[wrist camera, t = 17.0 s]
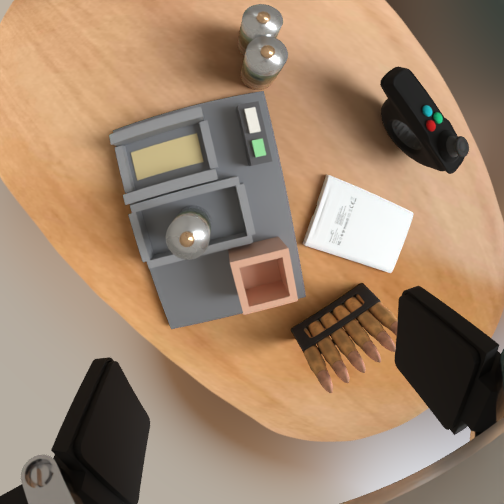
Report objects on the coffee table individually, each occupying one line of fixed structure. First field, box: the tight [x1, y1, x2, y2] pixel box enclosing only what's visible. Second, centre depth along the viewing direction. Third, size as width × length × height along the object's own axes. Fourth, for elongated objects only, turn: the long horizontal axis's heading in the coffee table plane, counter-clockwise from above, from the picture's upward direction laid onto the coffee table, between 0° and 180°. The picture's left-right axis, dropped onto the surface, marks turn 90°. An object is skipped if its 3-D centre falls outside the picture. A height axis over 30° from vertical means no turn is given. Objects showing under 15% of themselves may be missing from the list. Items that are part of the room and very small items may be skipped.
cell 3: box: [241, 36, 288, 90], centre depth 24 cm, size 4×4×7 cm
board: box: [109, 91, 306, 329], centre depth 29 cm, size 23×16×4 cm
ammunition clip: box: [291, 283, 398, 393], centre depth 30 cm, size 11×2×12 cm, turn 122°
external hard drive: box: [303, 175, 413, 273], centre depth 33 cm, size 2×8×12 cm
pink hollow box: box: [228, 237, 298, 315], centre depth 30 cm, size 5×5×5 cm
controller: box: [380, 67, 469, 174], centre depth 25 cm, size 4×12×10 cm, turn 44°
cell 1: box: [166, 206, 211, 260], centre depth 27 cm, size 4×4×7 cm
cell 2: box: [238, 4, 283, 56], centre depth 23 cm, size 4×4×7 cm
